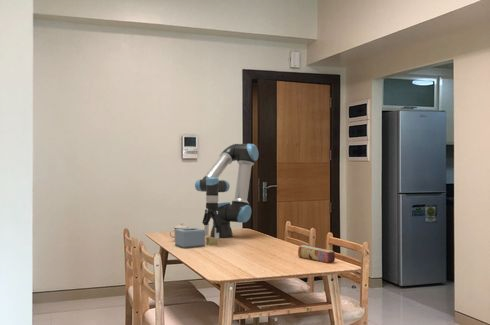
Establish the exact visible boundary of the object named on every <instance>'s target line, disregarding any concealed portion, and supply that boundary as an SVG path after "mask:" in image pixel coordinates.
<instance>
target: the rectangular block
mask: <svg viewBox="0 0 490 325" xmlns="http://www.w3.org/2000/svg"><path fill="white" fill-rule="evenodd" d="M218 239H219V238H215V237H211V236H210V237H208V236H207V237H205V246H218Z"/></svg>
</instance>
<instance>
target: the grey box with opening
mask: <svg viewBox="0 0 490 325" xmlns="http://www.w3.org/2000/svg"><path fill="white" fill-rule="evenodd" d="M174 230H175V231H174V237H175V238H174V246H175V247H178V248H181V249H193V248H203V247H204V248H206V247H205V246H206V236H205V230H204V228H203V229H202V228H199V227H188V228H184V229H174Z"/></svg>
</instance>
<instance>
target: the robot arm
mask: <svg viewBox="0 0 490 325" xmlns="http://www.w3.org/2000/svg"><path fill="white" fill-rule="evenodd" d="M258 159H259V149H258V147H257V145H255V144H254V143H233V144H231V145H228V146H227V147H226V148H225V149H224V150H222V151H221V153H220V154H219V158H218V159H217V160H216V161H215V162H214V164H213V165H212V166H211V168H210V169H209V171H207V172H206V173H205V175H204V176H203V178H202V179H197V180H196V181H195V182H194V188H195V190H196V191H197V192H205V209H204V215H203V219H202V224H203V225H204V226H203V230H205V237H206V236H207V237H208V236H210V237H215V238H218V239H220V238H221V239H224V238H231V237H233V236H234V235H233V231H232V227H231V222H232V223H247V222H248V221H249V220H250V218H251V216H252V207H251V206H250V202H249V201H248V197H249V189H250V180H251V173H252V166H254V165H255V162H256V161H257V160H258ZM235 161H237V164H238V170H237V176H236V178H237V179H236V185H235V192H234V199H233V200H231V202H230V201H226V202H219V193H226V192H228V191H229V190H230V183H229V182H228V181H227V180H224V179H221V180H220V179H219V177H220V175H221V174H222V173H223V172H224V170H225V169H226V168H227V167H228V165H230V164H232V162H235ZM211 219H212V227H211V231H210V233H209V226H210V224H209V223H210V221H211ZM209 234H210V235H209Z"/></svg>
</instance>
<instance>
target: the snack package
mask: <svg viewBox="0 0 490 325" xmlns="http://www.w3.org/2000/svg"><path fill="white" fill-rule="evenodd" d="M297 249H298V250H297V255H298V257H299V258H300V257H301V259H307V260H311V261H316V262H322V263H324V264H325V263H326V264H331V263H334V262H335V260H336V256H335V255H336V254H335V251H334V250H331V249H326V248H325V249H324V248H320V247H314V246H310V245H305V244H302V245H299V247H298V248H297Z"/></svg>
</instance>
